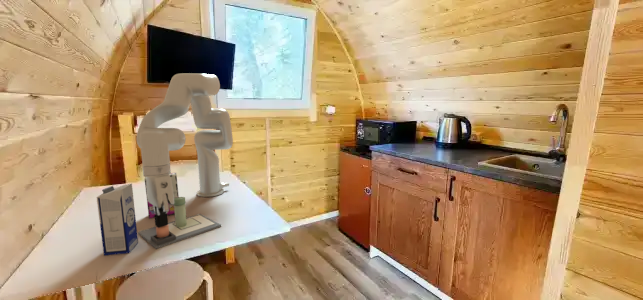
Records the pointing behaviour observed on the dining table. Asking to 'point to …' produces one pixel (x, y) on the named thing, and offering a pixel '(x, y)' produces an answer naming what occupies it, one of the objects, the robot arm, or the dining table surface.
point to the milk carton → (117, 220)
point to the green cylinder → (180, 211)
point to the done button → (162, 231)
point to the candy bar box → (171, 207)
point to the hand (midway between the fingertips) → (161, 225)
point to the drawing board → (180, 231)
